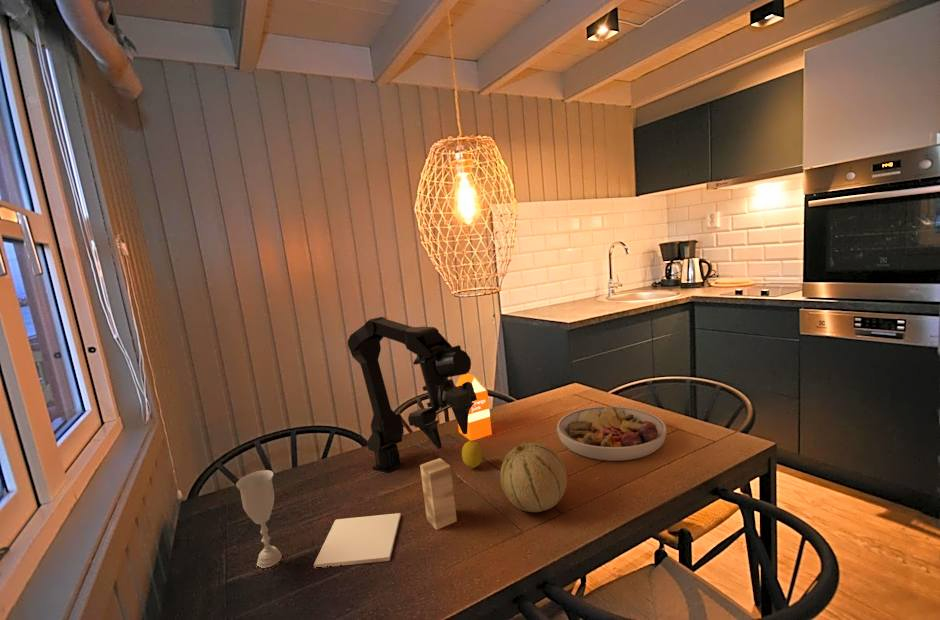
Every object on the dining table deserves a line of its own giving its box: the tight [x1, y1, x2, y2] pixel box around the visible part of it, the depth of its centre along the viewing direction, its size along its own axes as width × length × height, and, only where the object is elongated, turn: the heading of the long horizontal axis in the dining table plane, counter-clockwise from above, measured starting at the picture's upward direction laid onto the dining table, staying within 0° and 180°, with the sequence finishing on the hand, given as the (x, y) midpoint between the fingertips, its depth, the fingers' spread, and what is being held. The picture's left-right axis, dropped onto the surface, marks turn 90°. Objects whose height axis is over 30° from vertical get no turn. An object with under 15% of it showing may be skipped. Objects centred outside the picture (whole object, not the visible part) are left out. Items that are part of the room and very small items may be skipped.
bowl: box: [556, 405, 667, 462], centre depth 131 cm, size 30×30×8 cm
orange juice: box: [455, 372, 493, 441], centre depth 145 cm, size 8×9×20 cm
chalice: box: [235, 469, 283, 568], centre depth 92 cm, size 7×7×18 cm
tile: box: [313, 512, 401, 569], centre depth 97 cm, size 15×15×1 cm
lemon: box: [461, 440, 483, 469], centre depth 123 cm, size 6×6×8 cm
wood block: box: [419, 457, 458, 531], centre depth 100 cm, size 5×5×13 cm
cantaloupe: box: [500, 441, 568, 513], centre depth 102 cm, size 15×15×15 cm
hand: (452, 441), depth 110 cm, fingers open, 9 cm apart
